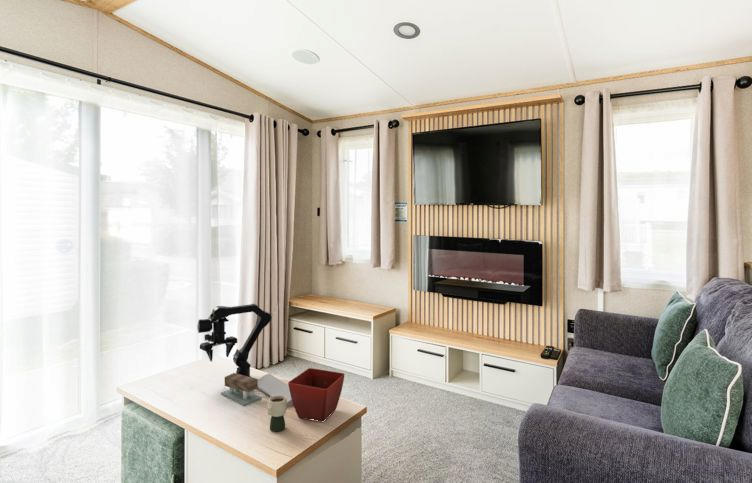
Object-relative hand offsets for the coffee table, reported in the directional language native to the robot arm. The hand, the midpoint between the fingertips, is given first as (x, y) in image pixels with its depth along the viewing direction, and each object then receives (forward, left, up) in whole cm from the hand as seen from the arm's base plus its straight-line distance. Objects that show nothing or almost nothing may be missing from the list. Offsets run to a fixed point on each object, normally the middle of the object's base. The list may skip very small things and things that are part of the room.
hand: (219, 359), depth 214 cm
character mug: (+10, +63, -13) cm, 65 cm away
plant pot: (-10, +66, -13) cm, 68 cm away
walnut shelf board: (+2, +24, -8) cm, 25 cm away
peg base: (+2, +24, -13) cm, 27 cm away
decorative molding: (-12, +33, -14) cm, 38 cm away
